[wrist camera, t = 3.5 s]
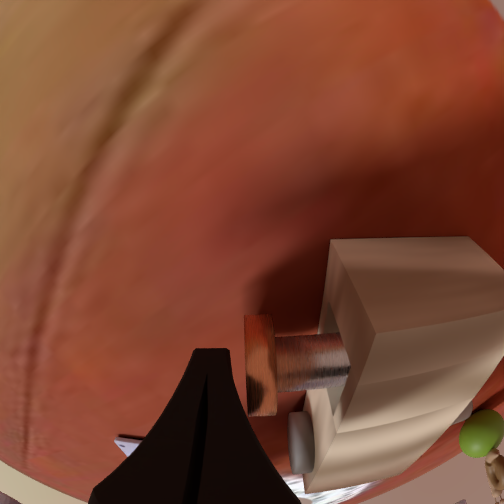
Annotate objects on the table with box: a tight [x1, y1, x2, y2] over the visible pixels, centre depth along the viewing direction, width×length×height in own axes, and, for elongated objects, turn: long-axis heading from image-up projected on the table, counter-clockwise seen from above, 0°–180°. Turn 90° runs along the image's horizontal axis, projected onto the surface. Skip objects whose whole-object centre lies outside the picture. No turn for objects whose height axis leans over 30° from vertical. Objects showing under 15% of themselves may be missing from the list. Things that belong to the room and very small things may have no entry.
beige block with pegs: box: [288, 236, 504, 494], centre depth 13 cm, size 16×12×5 cm
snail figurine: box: [459, 409, 504, 504], centre depth 18 cm, size 5×6×12 cm
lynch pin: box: [244, 314, 351, 417], centre depth 11 cm, size 4×13×4 cm, turn 91°
